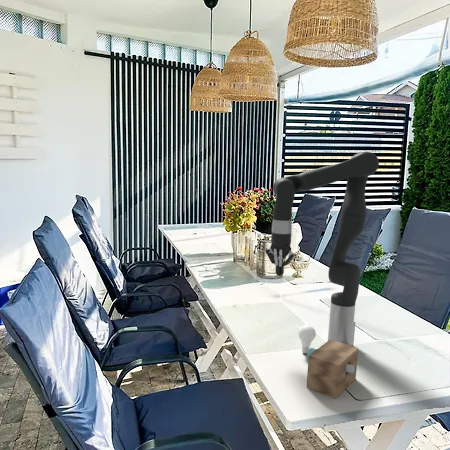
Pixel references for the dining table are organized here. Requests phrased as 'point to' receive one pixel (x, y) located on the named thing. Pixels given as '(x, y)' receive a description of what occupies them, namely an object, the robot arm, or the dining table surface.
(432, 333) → the dining table surface
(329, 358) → the mount
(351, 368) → the knob
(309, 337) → the lightbulb
